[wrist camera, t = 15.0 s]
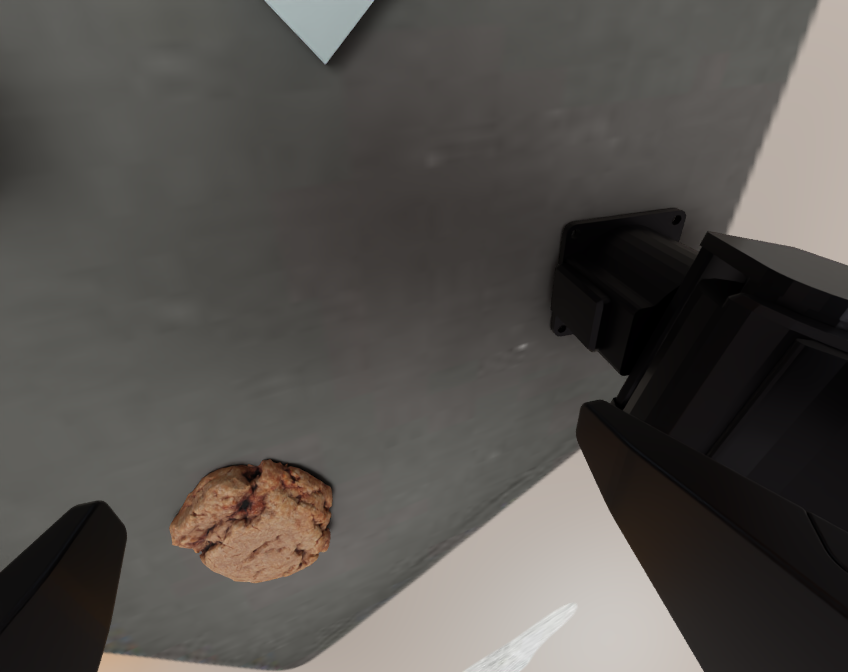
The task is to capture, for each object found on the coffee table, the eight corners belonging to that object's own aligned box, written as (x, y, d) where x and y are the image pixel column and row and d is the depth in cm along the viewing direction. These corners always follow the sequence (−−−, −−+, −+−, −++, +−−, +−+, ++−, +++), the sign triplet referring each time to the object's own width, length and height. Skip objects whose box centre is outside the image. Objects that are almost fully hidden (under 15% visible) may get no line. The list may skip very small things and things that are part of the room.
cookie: (245, 572, 31) (238, 615, 29) (138, 497, 25) (118, 545, 23) (366, 519, 31) (370, 559, 28) (287, 431, 25) (284, 472, 22)
